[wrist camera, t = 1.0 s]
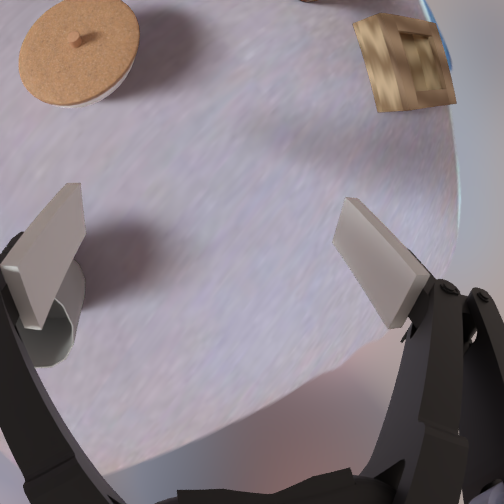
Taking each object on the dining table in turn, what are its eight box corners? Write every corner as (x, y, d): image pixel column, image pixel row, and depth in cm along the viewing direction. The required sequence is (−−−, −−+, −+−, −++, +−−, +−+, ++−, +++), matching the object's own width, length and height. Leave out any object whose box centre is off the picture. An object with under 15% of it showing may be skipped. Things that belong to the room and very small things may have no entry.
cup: (59, 232, 28) (34, 262, 19) (99, 294, 31) (93, 343, 22) (7, 271, 26) (-27, 311, 17) (47, 328, 30) (30, 380, 21)
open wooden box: (352, 23, 33) (380, 12, 27) (409, 29, 36) (435, 23, 31) (377, 112, 38) (408, 110, 33) (429, 104, 42) (456, 103, 36)
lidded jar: (148, 31, 25) (158, -10, 17) (122, 122, 27) (118, 107, 19) (58, 23, 20) (41, -16, 12) (29, 113, 23) (-5, 99, 14)
